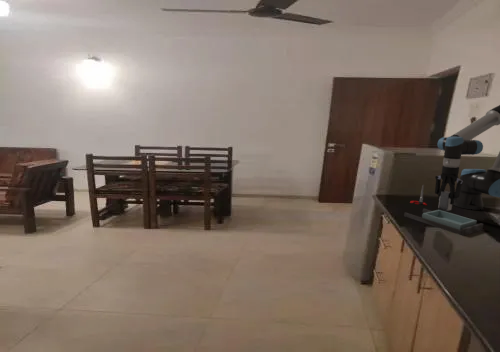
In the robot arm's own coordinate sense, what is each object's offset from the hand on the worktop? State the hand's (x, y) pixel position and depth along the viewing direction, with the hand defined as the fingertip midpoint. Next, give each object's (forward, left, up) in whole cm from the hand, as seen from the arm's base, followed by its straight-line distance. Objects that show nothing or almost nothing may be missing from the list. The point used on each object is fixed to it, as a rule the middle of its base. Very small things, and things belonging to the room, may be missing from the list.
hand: (444, 208), depth 169 cm
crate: (+16, +11, -3) cm, 19 cm away
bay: (+16, +7, -4) cm, 18 cm away
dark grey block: (0, 0, -1) cm, 1 cm away
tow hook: (-8, -20, -5) cm, 22 cm away
